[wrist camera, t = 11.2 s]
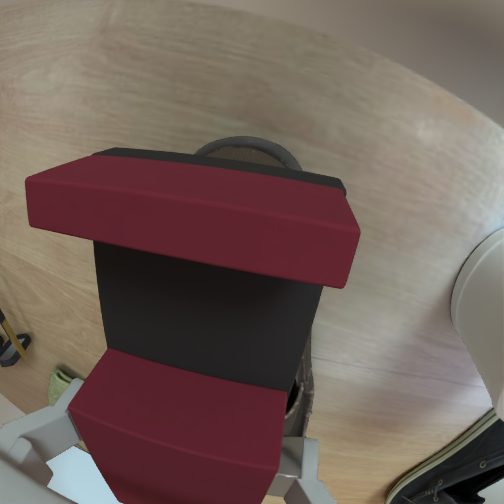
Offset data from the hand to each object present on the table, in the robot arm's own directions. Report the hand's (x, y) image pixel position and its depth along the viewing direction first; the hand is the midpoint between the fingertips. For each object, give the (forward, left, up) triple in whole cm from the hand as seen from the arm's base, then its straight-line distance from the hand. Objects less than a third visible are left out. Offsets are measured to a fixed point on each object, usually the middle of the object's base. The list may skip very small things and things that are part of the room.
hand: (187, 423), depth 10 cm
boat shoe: (+26, +31, -14) cm, 43 cm away
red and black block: (-1, 0, -2) cm, 2 cm away
